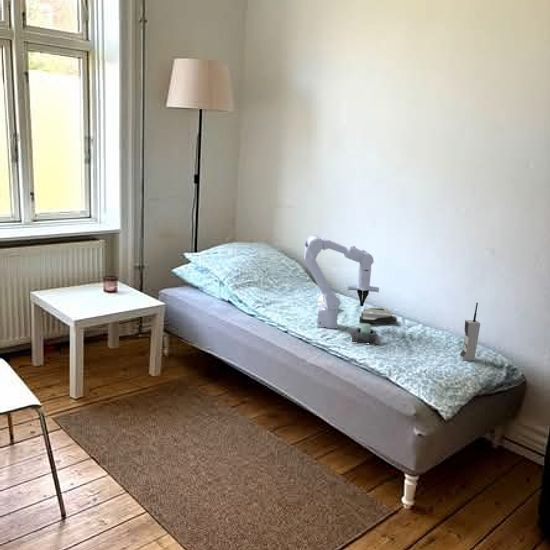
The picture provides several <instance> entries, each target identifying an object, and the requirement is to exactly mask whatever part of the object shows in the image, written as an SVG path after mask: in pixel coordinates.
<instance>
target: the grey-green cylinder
mask: <svg viewBox="0 0 550 550" xmlns="http://www.w3.org/2000/svg"><path fill="white" fill-rule="evenodd" d="M360 328H361V331H360V333H363V334H370V332H371V329H372V324H371V323H364V322H362V323H360Z"/></svg>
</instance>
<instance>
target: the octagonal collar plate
mask: <svg viewBox="0 0 550 550" xmlns="http://www.w3.org/2000/svg"><path fill="white" fill-rule="evenodd" d="M360 331H361V327H357V328H355V329H354V331H350V338H351V337H352V340H351V343H352V342H357V343H369V344H375V345H374V346H378V345H379V346H380V344H381V343H380V339H379V335H378V334H377V331H376V330H374V329H373V328H371V332H370V334H363V333H360ZM357 343H356V344H357Z"/></svg>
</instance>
